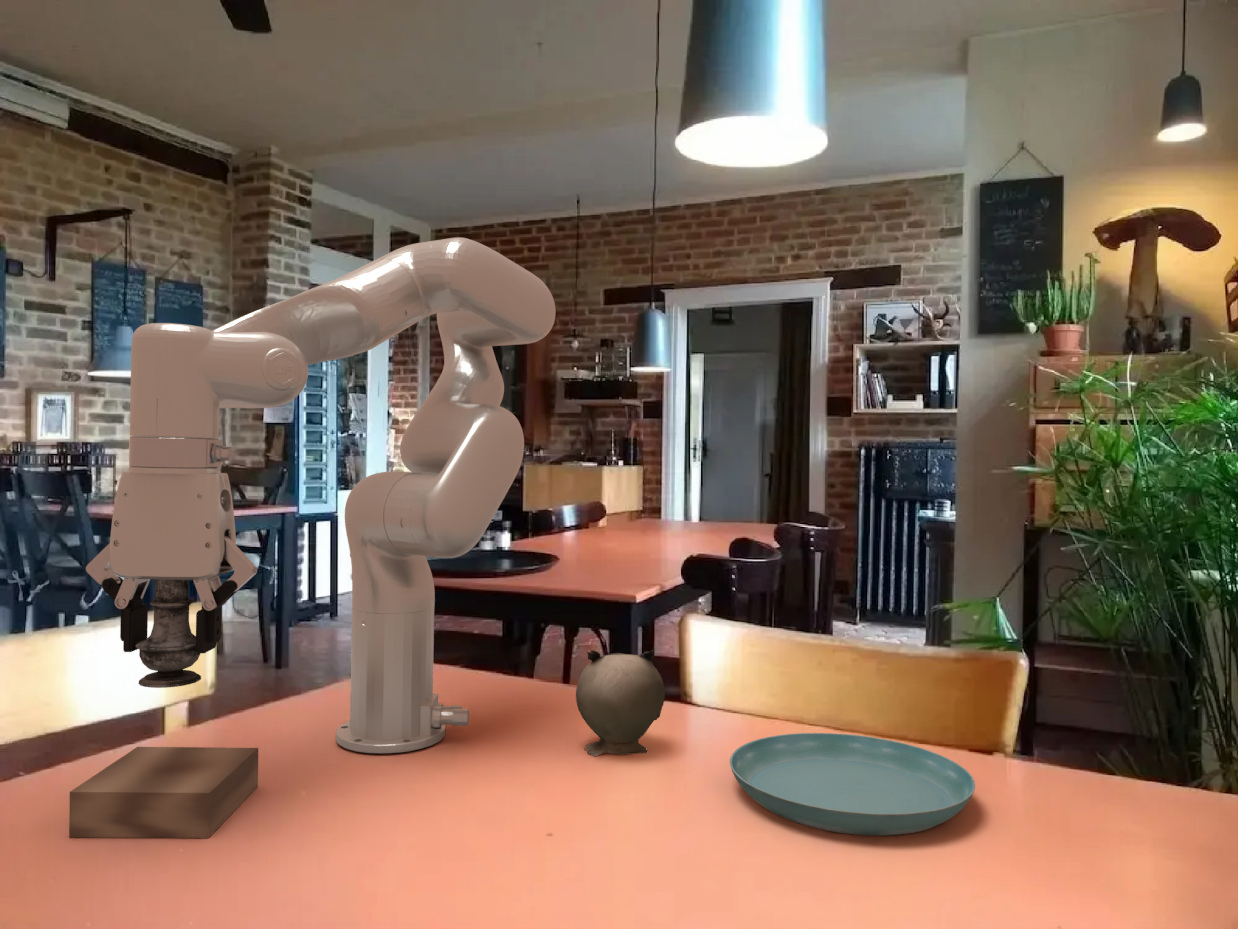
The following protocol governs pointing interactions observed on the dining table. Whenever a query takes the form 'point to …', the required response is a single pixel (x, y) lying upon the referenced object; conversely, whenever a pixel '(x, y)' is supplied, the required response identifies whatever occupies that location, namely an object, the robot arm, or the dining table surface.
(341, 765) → the dining table surface
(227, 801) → the brown flat wooden block
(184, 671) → the salt shaker
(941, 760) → the teal plate
